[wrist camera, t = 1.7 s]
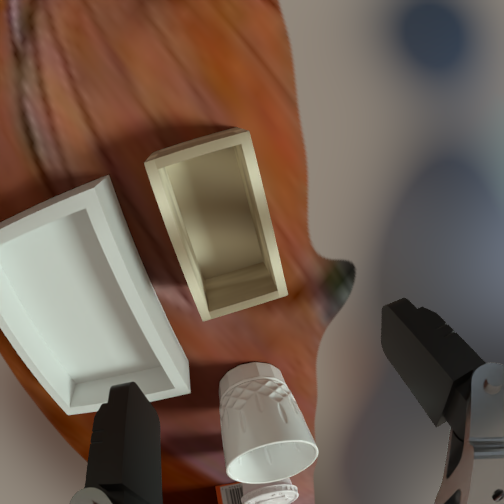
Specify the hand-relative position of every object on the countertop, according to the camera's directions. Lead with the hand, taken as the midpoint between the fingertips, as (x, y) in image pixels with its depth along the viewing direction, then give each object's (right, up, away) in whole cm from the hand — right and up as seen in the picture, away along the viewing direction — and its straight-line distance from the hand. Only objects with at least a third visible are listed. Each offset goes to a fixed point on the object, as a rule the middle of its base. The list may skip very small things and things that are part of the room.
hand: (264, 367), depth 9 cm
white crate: (-15, -1, +15) cm, 21 cm away
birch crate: (-3, +7, +14) cm, 16 cm away
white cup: (-1, -10, +22) cm, 24 cm away
